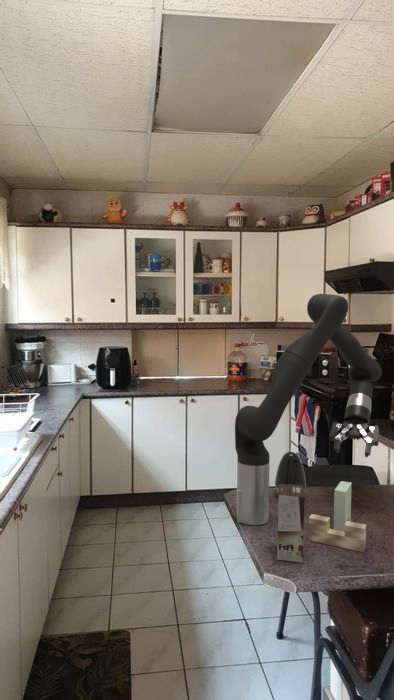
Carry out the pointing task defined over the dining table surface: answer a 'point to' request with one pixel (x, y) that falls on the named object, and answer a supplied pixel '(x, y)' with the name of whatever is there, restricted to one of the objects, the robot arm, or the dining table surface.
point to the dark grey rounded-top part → (290, 471)
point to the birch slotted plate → (337, 533)
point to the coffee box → (290, 522)
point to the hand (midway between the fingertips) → (351, 453)
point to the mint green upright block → (342, 505)
